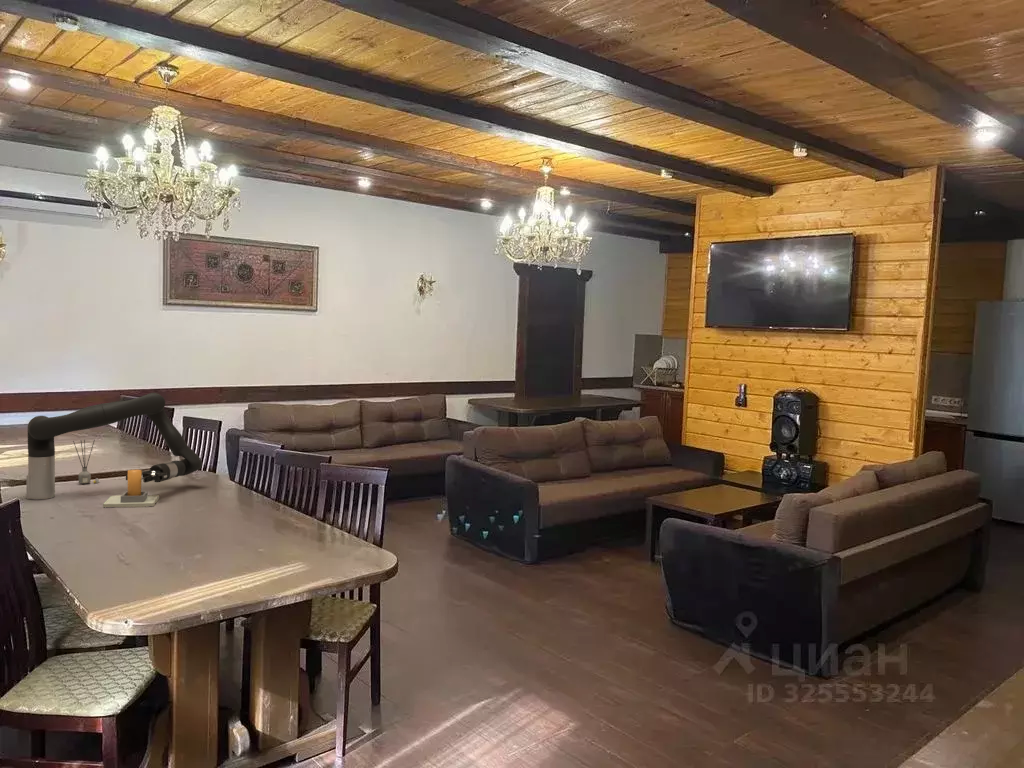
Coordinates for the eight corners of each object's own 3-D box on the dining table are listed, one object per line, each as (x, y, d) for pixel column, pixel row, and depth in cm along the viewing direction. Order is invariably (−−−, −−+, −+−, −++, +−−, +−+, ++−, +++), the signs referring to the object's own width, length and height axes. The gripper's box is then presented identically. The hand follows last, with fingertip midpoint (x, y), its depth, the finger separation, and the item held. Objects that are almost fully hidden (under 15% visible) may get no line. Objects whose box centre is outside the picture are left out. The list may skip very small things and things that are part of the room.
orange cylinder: (126, 501, 301) (126, 471, 300) (128, 498, 305) (129, 469, 304) (139, 501, 302) (140, 471, 301) (142, 498, 307) (142, 469, 306)
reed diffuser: (73, 485, 328) (74, 440, 327) (71, 482, 334) (71, 438, 332) (100, 483, 335) (100, 439, 333) (97, 480, 340) (97, 437, 339)
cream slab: (103, 507, 295) (103, 497, 295) (111, 499, 308) (111, 489, 308) (153, 506, 300) (153, 497, 300) (159, 498, 314) (159, 489, 313)
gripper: (149, 461, 320) (120, 468, 305) (177, 464, 317) (150, 471, 301) (149, 478, 321) (120, 486, 305) (177, 482, 317) (150, 489, 302)
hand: (135, 479), depth 303 cm, fingers open, 8 cm apart
